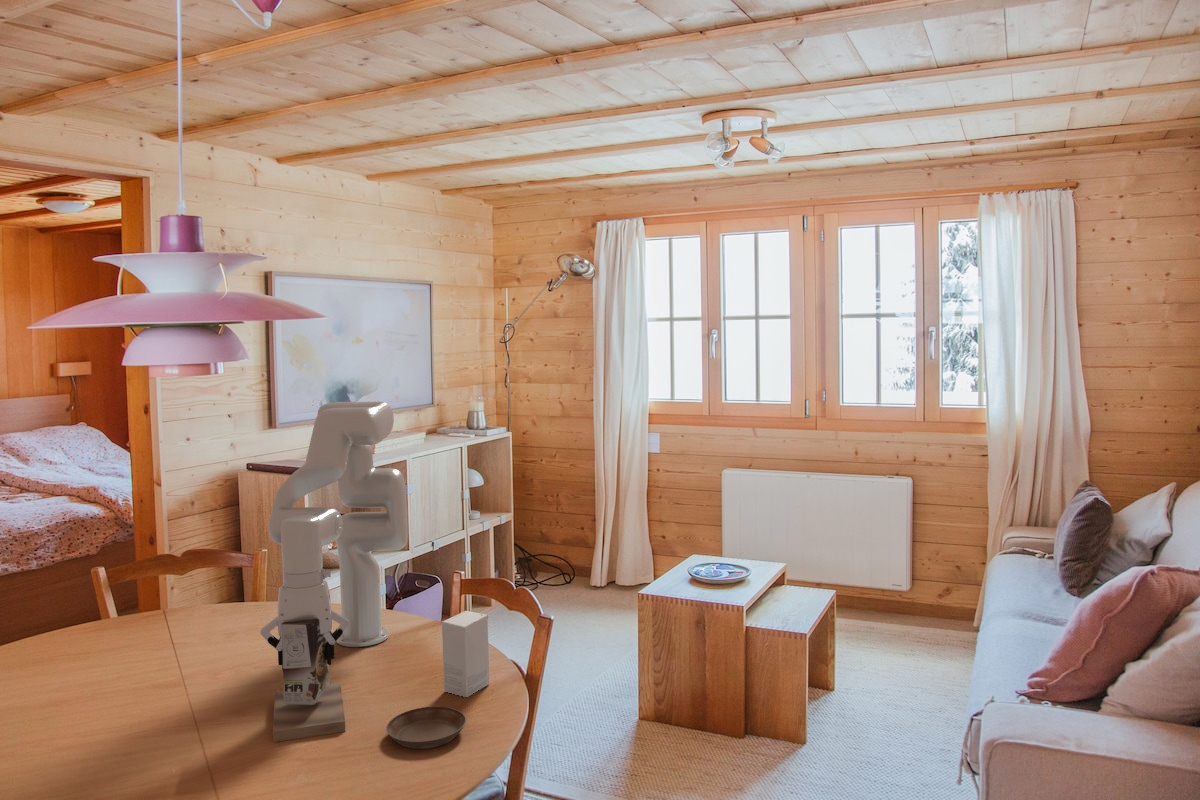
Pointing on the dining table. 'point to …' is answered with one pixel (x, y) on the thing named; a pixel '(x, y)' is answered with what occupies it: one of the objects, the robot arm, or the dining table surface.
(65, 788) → the dining table surface
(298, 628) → the coffee box
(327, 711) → the grey-brown rectangular board
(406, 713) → the saucer
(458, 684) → the skincare box
